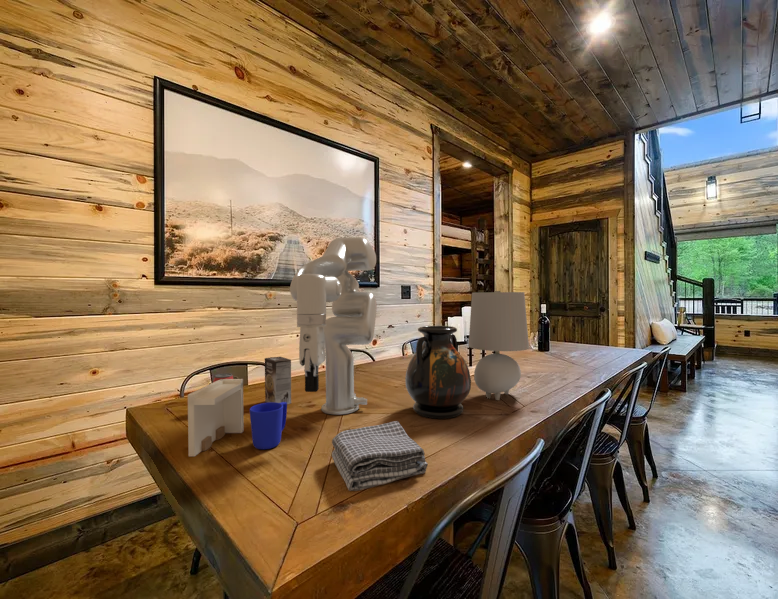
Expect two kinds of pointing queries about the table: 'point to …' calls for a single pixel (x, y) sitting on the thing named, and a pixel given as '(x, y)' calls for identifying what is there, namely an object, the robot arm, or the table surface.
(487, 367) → the table lamp
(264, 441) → the mug
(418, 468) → the towel
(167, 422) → the table surface
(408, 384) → the amphora vase
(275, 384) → the coffee box
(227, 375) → the beer can
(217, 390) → the shelf
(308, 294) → the robot arm
